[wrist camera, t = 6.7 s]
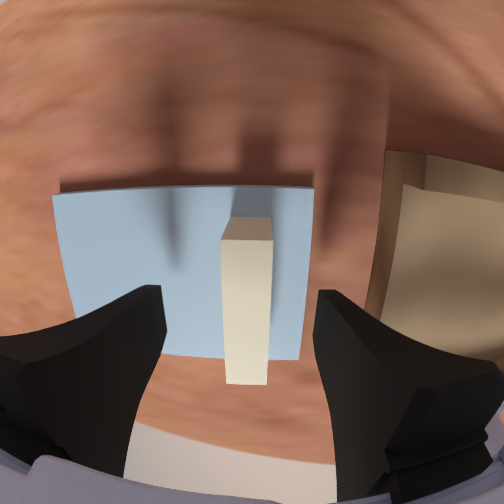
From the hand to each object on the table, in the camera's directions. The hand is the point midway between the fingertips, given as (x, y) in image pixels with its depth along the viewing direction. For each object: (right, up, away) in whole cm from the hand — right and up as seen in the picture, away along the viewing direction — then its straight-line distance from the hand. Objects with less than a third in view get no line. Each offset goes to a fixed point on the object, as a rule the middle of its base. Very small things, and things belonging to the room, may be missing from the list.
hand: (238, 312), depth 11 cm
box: (+13, +1, +2) cm, 13 cm away
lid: (-3, +1, +3) cm, 5 cm away
